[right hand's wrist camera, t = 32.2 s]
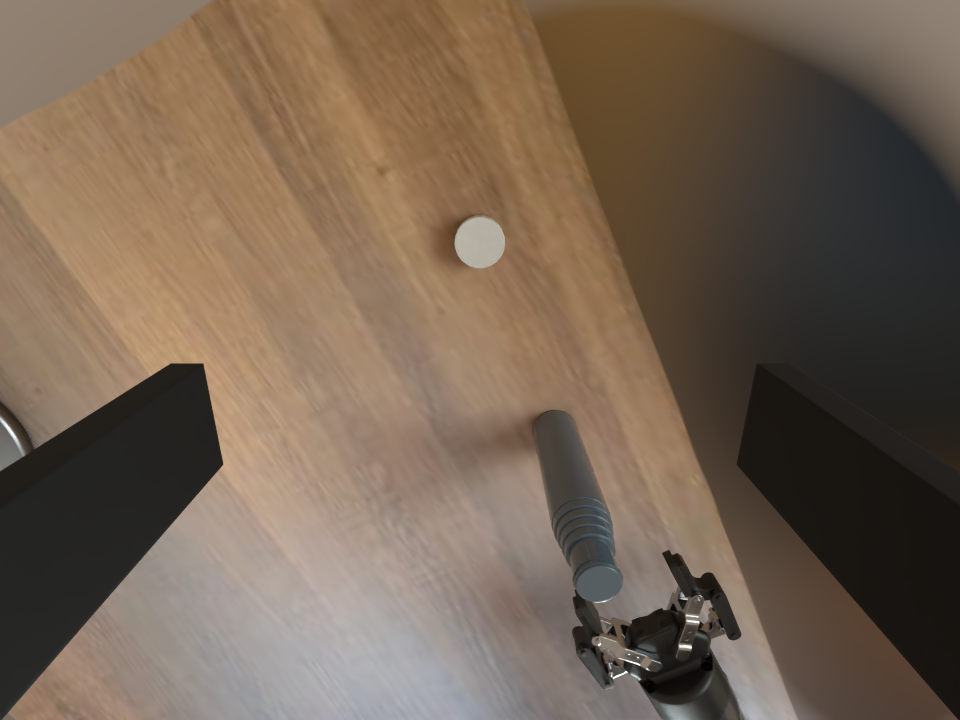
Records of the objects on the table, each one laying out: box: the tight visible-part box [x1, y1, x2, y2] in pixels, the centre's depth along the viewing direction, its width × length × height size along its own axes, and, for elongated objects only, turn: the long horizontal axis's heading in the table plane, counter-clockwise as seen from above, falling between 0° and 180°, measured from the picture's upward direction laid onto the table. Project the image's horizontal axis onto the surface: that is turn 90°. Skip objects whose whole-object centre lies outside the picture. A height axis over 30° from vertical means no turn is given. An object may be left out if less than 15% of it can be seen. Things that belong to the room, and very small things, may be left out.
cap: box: [454, 215, 505, 268], centre depth 42 cm, size 4×4×2 cm
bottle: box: [533, 410, 623, 602], centre depth 40 cm, size 4×4×20 cm
